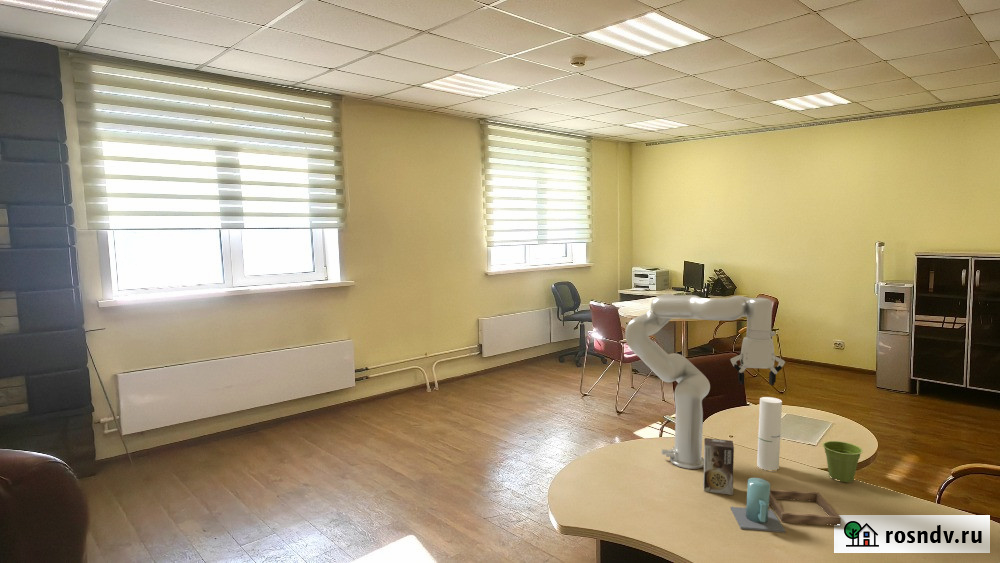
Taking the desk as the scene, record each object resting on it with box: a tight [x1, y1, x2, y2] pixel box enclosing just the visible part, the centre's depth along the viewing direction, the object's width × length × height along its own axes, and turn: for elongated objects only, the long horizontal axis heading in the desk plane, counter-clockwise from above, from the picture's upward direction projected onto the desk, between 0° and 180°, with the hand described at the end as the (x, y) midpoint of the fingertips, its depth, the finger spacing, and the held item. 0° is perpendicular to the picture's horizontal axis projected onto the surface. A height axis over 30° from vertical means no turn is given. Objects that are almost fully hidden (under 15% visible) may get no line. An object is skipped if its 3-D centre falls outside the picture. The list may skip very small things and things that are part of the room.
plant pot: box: [822, 440, 864, 483], centre depth 194 cm, size 12×12×11 cm
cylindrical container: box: [756, 396, 783, 471], centre depth 202 cm, size 7×7×25 cm
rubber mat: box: [730, 506, 786, 533], centre depth 166 cm, size 12×12×1 cm
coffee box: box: [702, 437, 735, 496], centre depth 185 cm, size 9×6×16 cm
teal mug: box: [745, 477, 771, 523], centre depth 164 cm, size 9×6×11 cm, turn 170°
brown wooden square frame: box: [769, 488, 842, 526], centre depth 172 cm, size 16×16×2 cm
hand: (756, 383), depth 192 cm, fingers open, 9 cm apart
